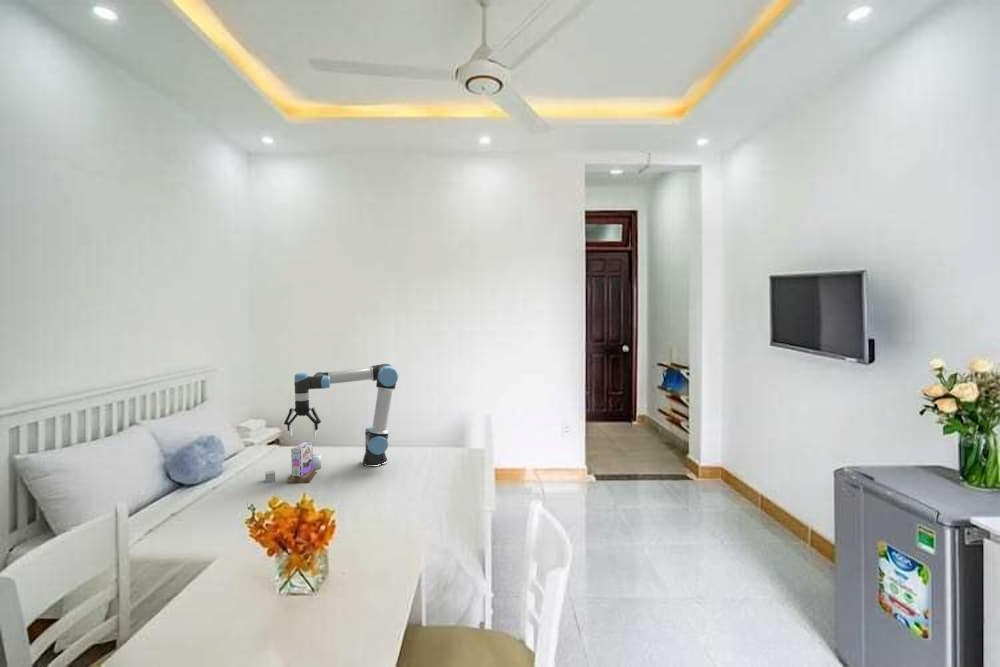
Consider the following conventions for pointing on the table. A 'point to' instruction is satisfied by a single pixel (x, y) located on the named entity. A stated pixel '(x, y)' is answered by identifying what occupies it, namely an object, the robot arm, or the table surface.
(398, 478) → the table surface
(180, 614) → the table surface
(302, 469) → the candy box
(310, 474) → the brown wooden board
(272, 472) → the grey box
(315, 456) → the light grey rounded block
